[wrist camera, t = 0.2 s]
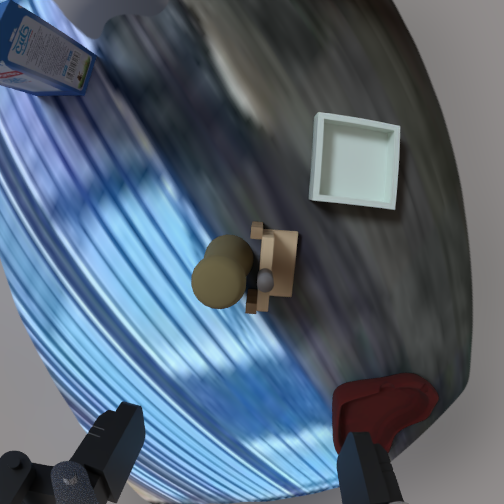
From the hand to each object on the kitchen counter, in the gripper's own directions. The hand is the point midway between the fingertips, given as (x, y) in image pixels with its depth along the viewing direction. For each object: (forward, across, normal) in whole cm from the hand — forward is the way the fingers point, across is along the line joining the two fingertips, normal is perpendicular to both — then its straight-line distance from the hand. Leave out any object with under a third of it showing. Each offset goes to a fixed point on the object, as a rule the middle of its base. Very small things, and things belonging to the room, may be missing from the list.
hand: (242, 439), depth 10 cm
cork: (+29, +4, +1) cm, 29 cm away
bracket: (+29, -1, +1) cm, 29 cm away
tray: (+30, -9, -13) cm, 33 cm away
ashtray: (+29, -20, +22) cm, 42 cm away
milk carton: (+29, +31, -23) cm, 48 cm away
